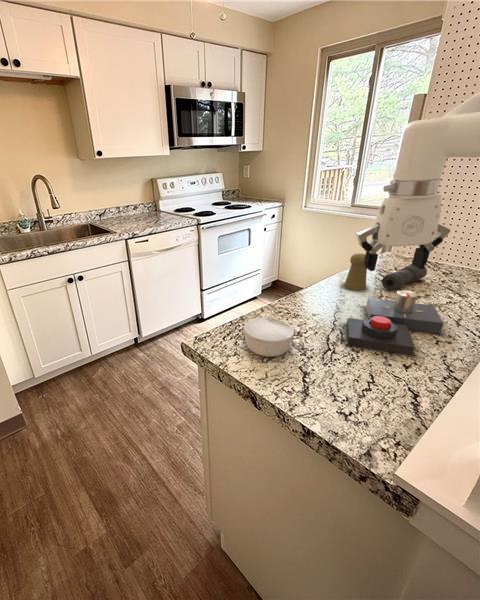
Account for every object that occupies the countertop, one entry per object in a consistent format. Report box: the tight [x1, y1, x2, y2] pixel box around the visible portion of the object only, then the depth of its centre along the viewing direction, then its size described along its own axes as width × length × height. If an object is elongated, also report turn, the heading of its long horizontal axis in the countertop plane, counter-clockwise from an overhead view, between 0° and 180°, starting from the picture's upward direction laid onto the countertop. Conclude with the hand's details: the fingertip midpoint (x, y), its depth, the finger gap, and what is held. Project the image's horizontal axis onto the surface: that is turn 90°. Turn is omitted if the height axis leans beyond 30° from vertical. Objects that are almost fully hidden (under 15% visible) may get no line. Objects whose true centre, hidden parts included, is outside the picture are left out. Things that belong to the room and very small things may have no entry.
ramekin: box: [242, 316, 295, 358], centre depth 75 cm, size 11×11×5 cm
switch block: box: [345, 317, 416, 356], centre depth 73 cm, size 12×10×4 cm
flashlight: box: [381, 263, 428, 291], centre depth 98 cm, size 15×5×5 cm, turn 117°
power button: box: [370, 316, 391, 329], centre depth 72 cm, size 4×4×2 cm
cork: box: [343, 253, 368, 292], centre depth 98 cm, size 6×6×11 cm
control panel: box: [365, 298, 444, 335], centre depth 80 cm, size 14×10×3 cm
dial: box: [393, 290, 418, 313], centre depth 78 cm, size 4×4×5 cm
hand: (393, 268), depth 70 cm, fingers open, 9 cm apart
